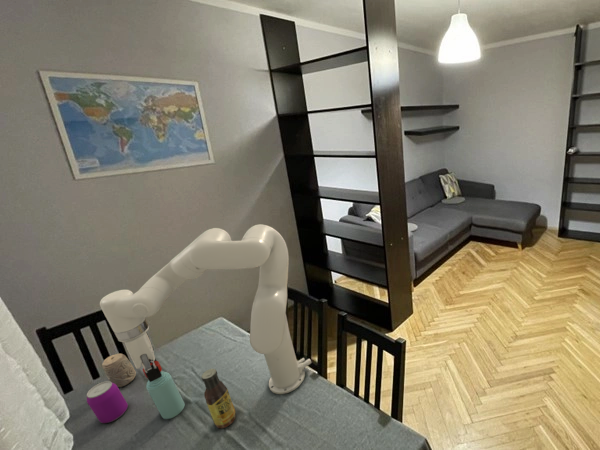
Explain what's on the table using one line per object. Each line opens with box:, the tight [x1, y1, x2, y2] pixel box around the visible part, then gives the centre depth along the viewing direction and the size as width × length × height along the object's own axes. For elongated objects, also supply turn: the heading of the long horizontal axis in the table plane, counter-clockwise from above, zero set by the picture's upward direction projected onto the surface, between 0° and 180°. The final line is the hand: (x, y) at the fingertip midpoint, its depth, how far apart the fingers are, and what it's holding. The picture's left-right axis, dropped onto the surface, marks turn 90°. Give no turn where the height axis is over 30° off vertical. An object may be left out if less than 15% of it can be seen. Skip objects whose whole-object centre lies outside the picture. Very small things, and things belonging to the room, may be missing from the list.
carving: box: [101, 352, 137, 388], centre depth 117 cm, size 6×8×12 cm
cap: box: [142, 360, 163, 378], centre depth 99 cm, size 4×4×3 cm
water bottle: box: [145, 371, 185, 420], centre depth 103 cm, size 7×7×20 cm
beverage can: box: [86, 380, 129, 424], centre depth 105 cm, size 8×8×12 cm
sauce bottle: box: [200, 368, 237, 429], centre depth 98 cm, size 6×6×20 cm
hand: (154, 373), depth 100 cm, fingers closed on cap, 4 cm apart
